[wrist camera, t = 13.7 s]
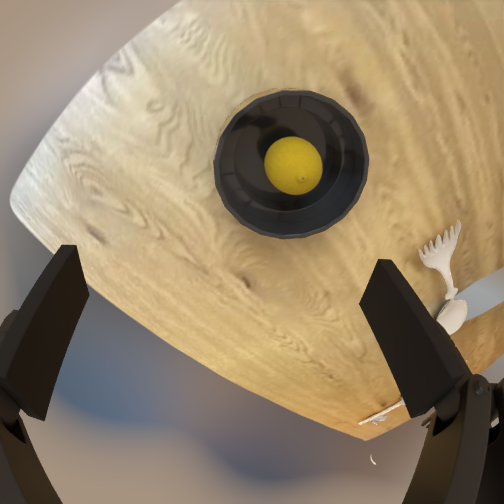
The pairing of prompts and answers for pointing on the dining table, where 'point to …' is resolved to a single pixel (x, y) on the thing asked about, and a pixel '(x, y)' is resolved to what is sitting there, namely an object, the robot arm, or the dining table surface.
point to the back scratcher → (446, 277)
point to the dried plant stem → (380, 415)
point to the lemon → (293, 165)
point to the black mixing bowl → (253, 157)
